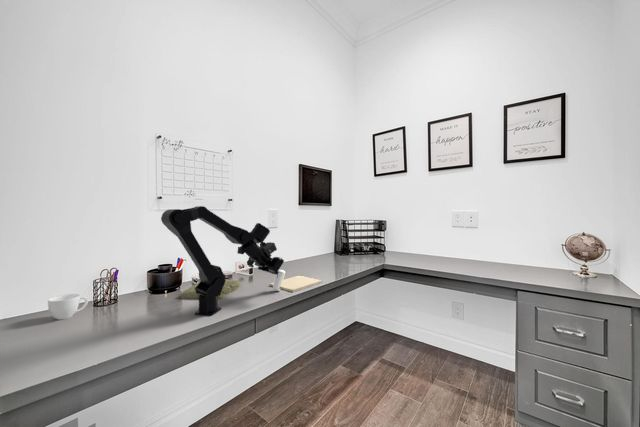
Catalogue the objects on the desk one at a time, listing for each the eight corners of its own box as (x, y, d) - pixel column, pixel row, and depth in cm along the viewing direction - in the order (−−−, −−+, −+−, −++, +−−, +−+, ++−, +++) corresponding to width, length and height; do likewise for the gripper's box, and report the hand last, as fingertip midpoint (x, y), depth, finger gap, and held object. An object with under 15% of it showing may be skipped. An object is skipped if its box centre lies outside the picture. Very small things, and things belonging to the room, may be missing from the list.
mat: (293, 292, 118) (293, 289, 118) (269, 285, 128) (269, 283, 128) (322, 282, 133) (322, 280, 133) (299, 277, 143) (298, 275, 143)
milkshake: (275, 289, 122) (280, 267, 125) (283, 291, 119) (288, 269, 121) (267, 288, 119) (273, 265, 121) (275, 290, 116) (281, 267, 118)
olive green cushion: (179, 299, 110) (179, 291, 110) (205, 285, 130) (205, 278, 130) (223, 301, 108) (223, 292, 108) (242, 286, 128) (242, 279, 128)
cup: (48, 317, 91) (47, 297, 91) (86, 309, 98) (86, 291, 98) (48, 324, 86) (48, 303, 86) (89, 315, 93) (89, 295, 93)
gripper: (280, 238, 109) (299, 261, 117) (252, 235, 121) (271, 256, 129) (264, 260, 103) (286, 283, 111) (237, 255, 115) (258, 276, 123)
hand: (275, 273), depth 119 cm, fingers closed
